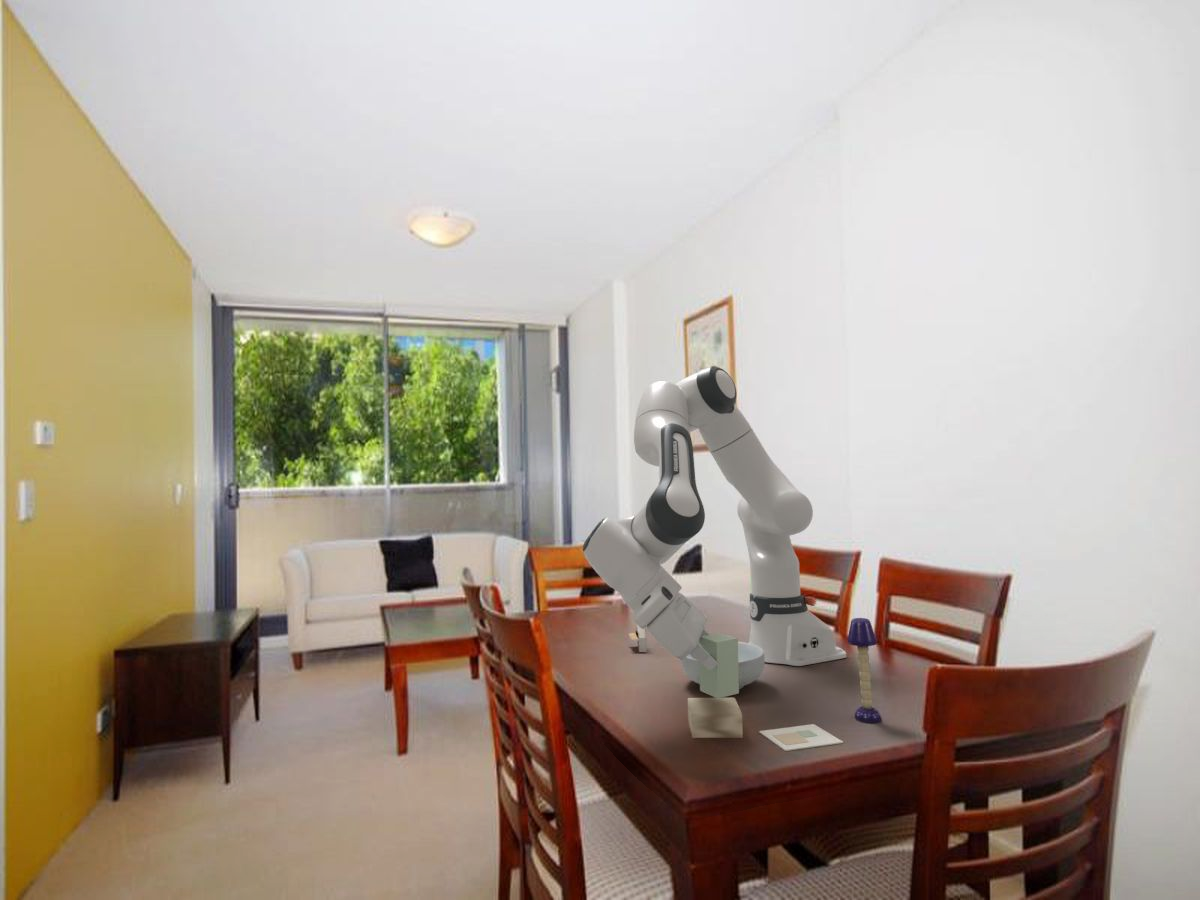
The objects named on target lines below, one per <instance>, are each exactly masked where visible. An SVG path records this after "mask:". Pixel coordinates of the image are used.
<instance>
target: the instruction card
mask: <svg viewBox="0 0 1200 900" xmlns="http://www.w3.org/2000/svg"><path fill="white" fill-rule="evenodd" d="M758 733H759V734H760V735H762V736H763V737H764V738H766V739H768V740H769V741H770V742H772V743H774V744H775V745H776V746H777V747H779V748H780V749H782V750H783V751H785V752H788V751H796V750H803V749H809V748H818V747H819V748H820V747H824V746H833V745H839V744H844V741H842V740H841V739H839V738H838V737H836V736H834V735H833V734H831V733H829V732H828V731H826V730H824V729H823V728H821V727H819V726H818V725H816V724H814V723H812V724H805V725H804V724H803V725H797V726H790V727H781V728H774V729H772V728H771V729H766V730H760V731H758Z"/></svg>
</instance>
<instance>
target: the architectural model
mask: <svg viewBox="0 0 1200 900" xmlns="http://www.w3.org/2000/svg"><path fill="white" fill-rule="evenodd" d="M636 627H637V628H635V632H629V633H628V635H629V638H630V639H631V641H632V642H635V641H636V642H637V648H638V653H639V652H646V653H648V651H647V650H648V645H647V644H648V643H647V638H648V637H647V627H646V628H644V629H642V628H640V627H639V626H638V624H637V623H636Z"/></svg>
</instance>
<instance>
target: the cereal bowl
mask: <svg viewBox="0 0 1200 900" xmlns="http://www.w3.org/2000/svg"><path fill="white" fill-rule="evenodd" d="M764 660H765V659H764V651H763V649H762V648H760V647H759V646H756V645H753V644H749V642H744V641H738V674H739V690H741V689H743V688H744V686H748V685H751V684H752V683H753V682H755V681H756V680H757V679H759V678H760V676H761V675H762V674H763V672H764V668H765V662H764ZM679 661H680V664H681V668H682V671H683V673H684V674H685V676H686V677H687V678H689V680H691V681H692V682H694V683H696V684H699V685H700V664H699V661H697V660H696V659H694V658H693V657H692V656H691V655H690V654H689V655H688V656H687V657H685V658H684V659H683V660H681V659H679Z"/></svg>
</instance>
